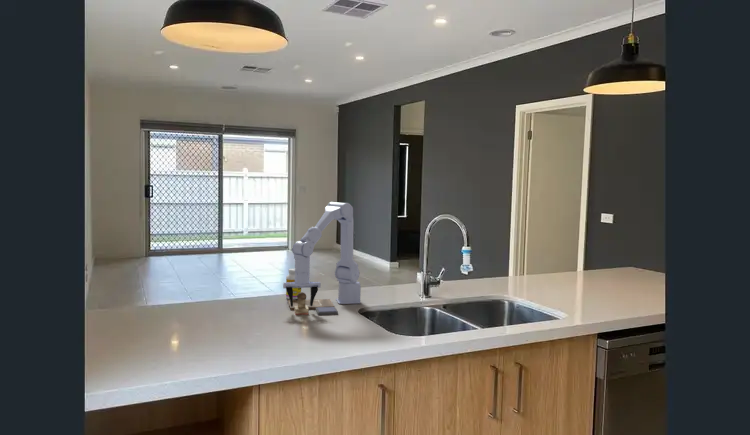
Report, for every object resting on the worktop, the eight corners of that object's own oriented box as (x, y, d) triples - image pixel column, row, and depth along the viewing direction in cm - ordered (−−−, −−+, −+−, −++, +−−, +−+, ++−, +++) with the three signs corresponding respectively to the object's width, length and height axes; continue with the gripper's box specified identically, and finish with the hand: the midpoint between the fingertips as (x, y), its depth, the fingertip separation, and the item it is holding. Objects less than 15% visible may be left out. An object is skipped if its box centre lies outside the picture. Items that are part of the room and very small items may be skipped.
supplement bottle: (299, 300, 233) (300, 270, 232) (284, 299, 233) (285, 270, 232) (302, 296, 240) (302, 268, 239) (287, 296, 240) (287, 267, 239)
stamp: (307, 311, 215) (307, 290, 214) (308, 314, 210) (308, 293, 209) (294, 311, 214) (294, 291, 213) (295, 315, 209) (296, 293, 208)
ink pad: (334, 309, 219) (334, 306, 219) (338, 314, 211) (338, 311, 211) (315, 310, 217) (315, 307, 217) (317, 315, 209) (317, 312, 209)
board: (329, 301, 232) (329, 298, 232) (334, 308, 220) (334, 306, 220) (287, 302, 228) (288, 299, 228) (290, 310, 216) (290, 307, 216)
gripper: (284, 273, 205) (283, 308, 206) (321, 273, 208) (321, 307, 209) (283, 270, 212) (282, 304, 213) (319, 270, 215) (318, 303, 216)
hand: (301, 305), depth 211 cm, fingers open, 7 cm apart
